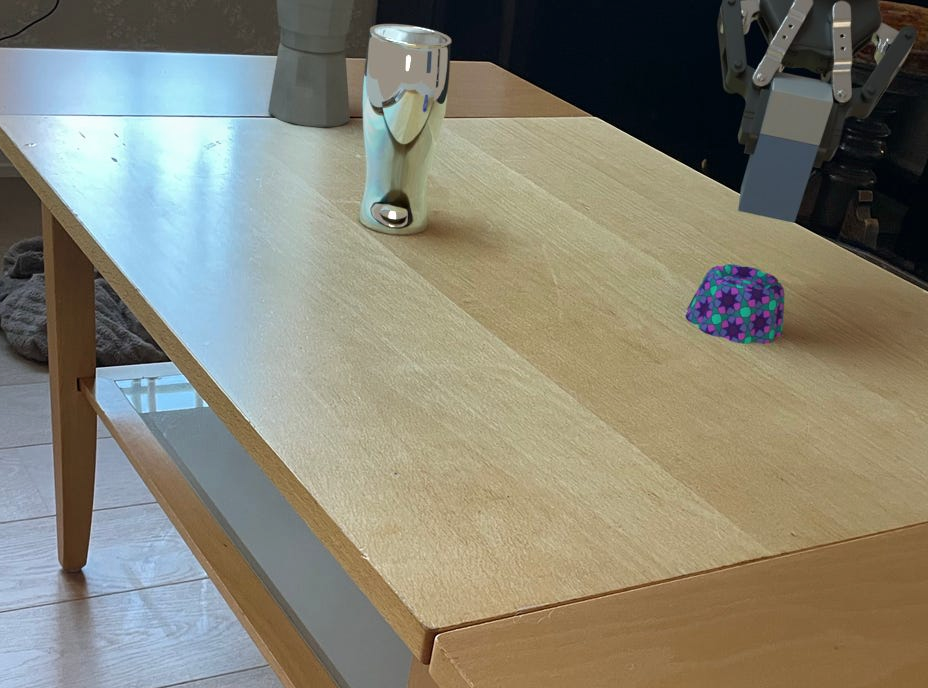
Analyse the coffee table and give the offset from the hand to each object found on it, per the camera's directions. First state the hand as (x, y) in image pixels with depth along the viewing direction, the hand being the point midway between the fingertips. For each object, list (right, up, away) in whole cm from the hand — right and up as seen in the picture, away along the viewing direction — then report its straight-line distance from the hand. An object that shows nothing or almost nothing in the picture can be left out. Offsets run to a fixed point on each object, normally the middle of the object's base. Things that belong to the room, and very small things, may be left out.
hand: (783, 153), depth 79 cm
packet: (0, -2, +4) cm, 4 cm away
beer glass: (-28, +3, +22) cm, 36 cm away
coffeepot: (-38, +23, +45) cm, 64 cm away
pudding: (-1, -10, +11) cm, 15 cm away
